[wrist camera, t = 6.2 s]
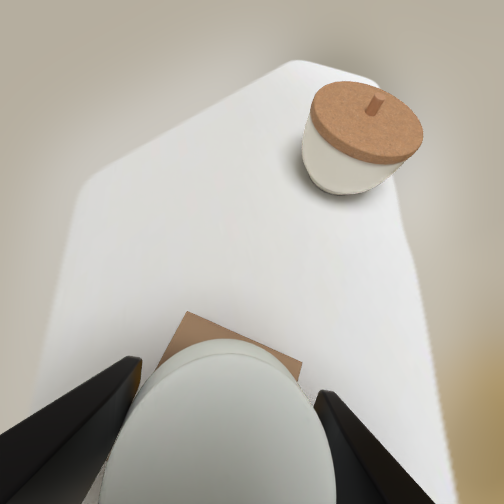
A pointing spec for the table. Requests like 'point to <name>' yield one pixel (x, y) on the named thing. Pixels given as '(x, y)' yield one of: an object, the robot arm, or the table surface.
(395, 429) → the table surface
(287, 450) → the supplement bottle
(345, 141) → the lidded jar
